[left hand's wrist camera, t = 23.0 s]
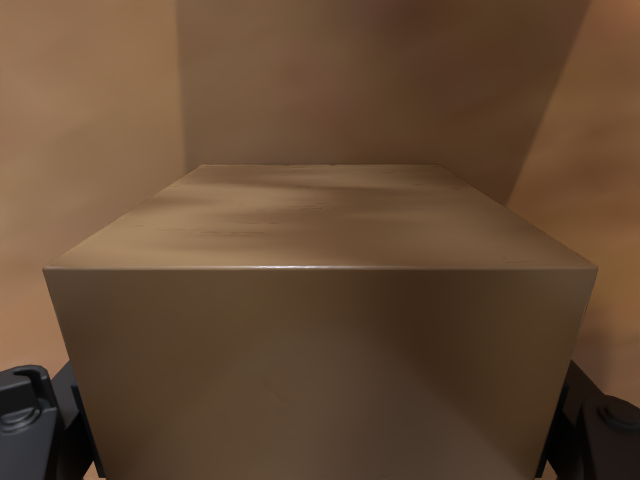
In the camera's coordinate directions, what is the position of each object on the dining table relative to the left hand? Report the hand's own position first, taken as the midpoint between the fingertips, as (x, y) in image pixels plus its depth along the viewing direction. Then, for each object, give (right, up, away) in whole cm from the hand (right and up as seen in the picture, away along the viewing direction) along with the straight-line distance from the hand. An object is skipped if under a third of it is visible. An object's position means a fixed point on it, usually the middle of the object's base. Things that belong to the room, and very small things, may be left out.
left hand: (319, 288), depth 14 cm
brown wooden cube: (0, +1, +1) cm, 1 cm away
